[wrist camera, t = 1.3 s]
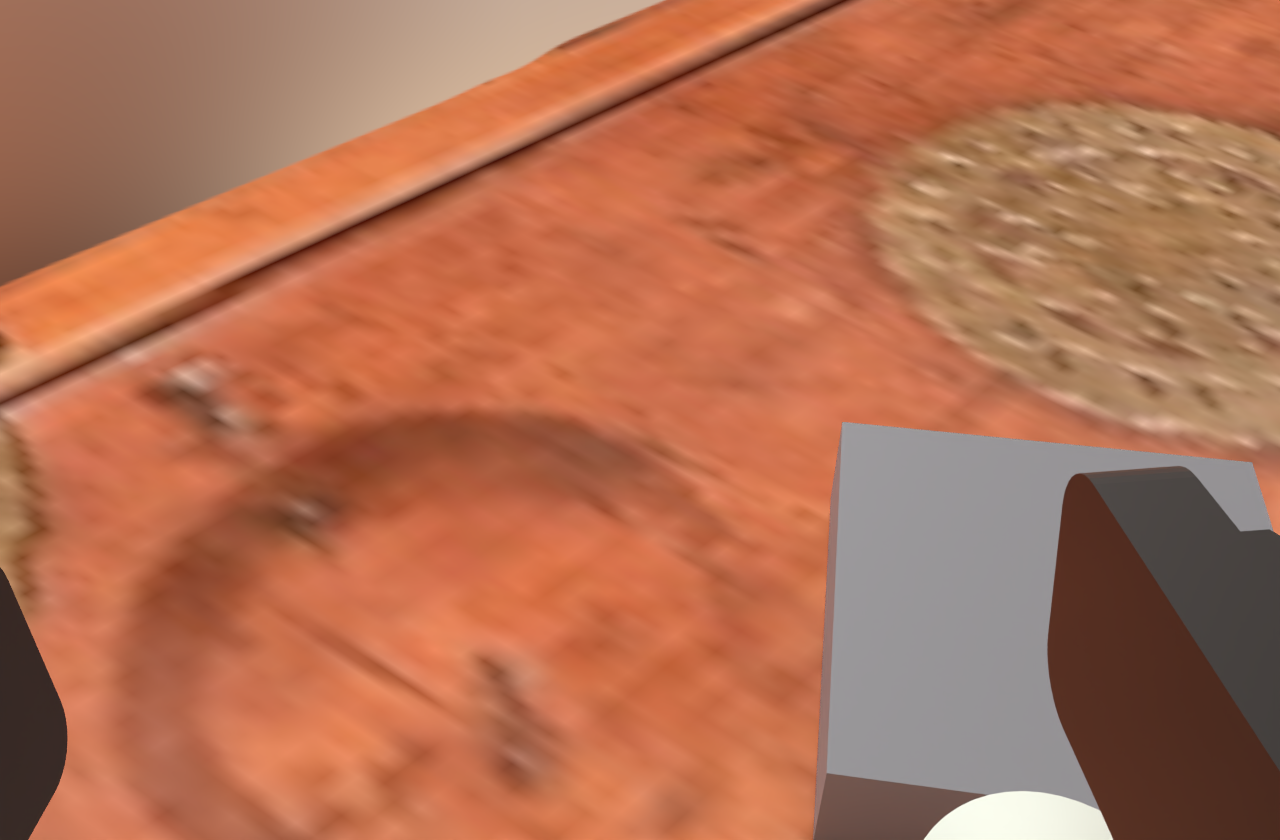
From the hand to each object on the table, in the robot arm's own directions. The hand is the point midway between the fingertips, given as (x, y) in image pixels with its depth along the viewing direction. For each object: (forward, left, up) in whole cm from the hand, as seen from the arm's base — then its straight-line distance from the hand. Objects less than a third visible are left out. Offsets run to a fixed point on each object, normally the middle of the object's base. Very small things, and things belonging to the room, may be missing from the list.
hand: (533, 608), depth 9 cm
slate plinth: (+11, +19, -26) cm, 34 cm away
